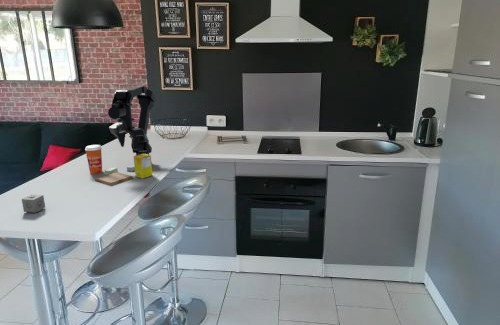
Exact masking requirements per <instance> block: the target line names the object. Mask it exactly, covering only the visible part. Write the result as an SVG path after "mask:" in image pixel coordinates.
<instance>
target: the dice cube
mask: <svg viewBox="0 0 500 325" xmlns="http://www.w3.org/2000/svg"><path fill="white" fill-rule="evenodd" d="M21 203H22V209H23V212H24V213H38V212H39V211H41V210H43V209H46V203H45V196H44V195H43V194H29V195H27V196H25V197H24V198H22V199H21Z"/></svg>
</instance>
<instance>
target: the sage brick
mask: <svg viewBox="0 0 500 325" xmlns="http://www.w3.org/2000/svg"><path fill="white" fill-rule="evenodd" d="M116 172H118V173H119V171H118V167H110V168H108V169H105V170H104V176H105V175H108V174H112V173H116Z"/></svg>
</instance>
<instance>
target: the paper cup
mask: <svg viewBox="0 0 500 325" xmlns="http://www.w3.org/2000/svg"><path fill="white" fill-rule="evenodd" d="M102 149H103V148H102V145H101V144H91V145H87V146H85V149H84V150H85V154H86V159H87V163H88V168H89V174H90V175H96V174H97V175H98V174H102V173H103V160H102V159H103V158H102Z"/></svg>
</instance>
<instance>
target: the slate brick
mask: <svg viewBox="0 0 500 325" xmlns="http://www.w3.org/2000/svg"><path fill="white" fill-rule="evenodd" d="M126 171H127V172H132V171H133V172H135V166H134V163H133V164H131V165H129V166H127V167H126Z"/></svg>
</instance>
